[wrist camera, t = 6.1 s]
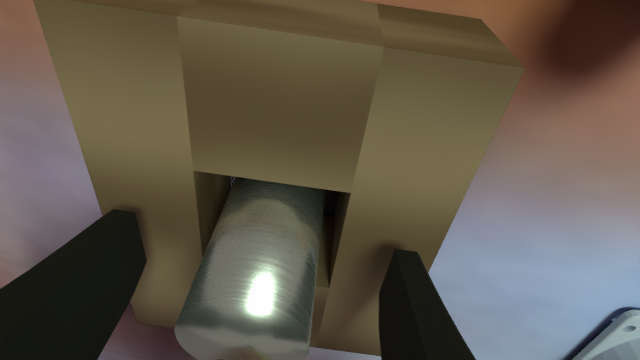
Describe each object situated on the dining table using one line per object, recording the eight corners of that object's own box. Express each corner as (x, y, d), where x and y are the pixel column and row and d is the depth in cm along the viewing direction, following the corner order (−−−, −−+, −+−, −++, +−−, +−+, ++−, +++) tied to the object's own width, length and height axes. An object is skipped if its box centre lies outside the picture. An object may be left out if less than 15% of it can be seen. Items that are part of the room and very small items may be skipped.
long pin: (320, 199, 15) (299, 383, 9) (245, 186, 15) (179, 364, 9) (334, 134, 13) (318, 317, 8) (248, 119, 13) (168, 293, 8)
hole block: (383, 284, 18) (388, 357, 15) (171, 254, 18) (137, 323, 15) (480, 19, 10) (524, 68, 8) (117, -36, 10) (31, -6, 8)
